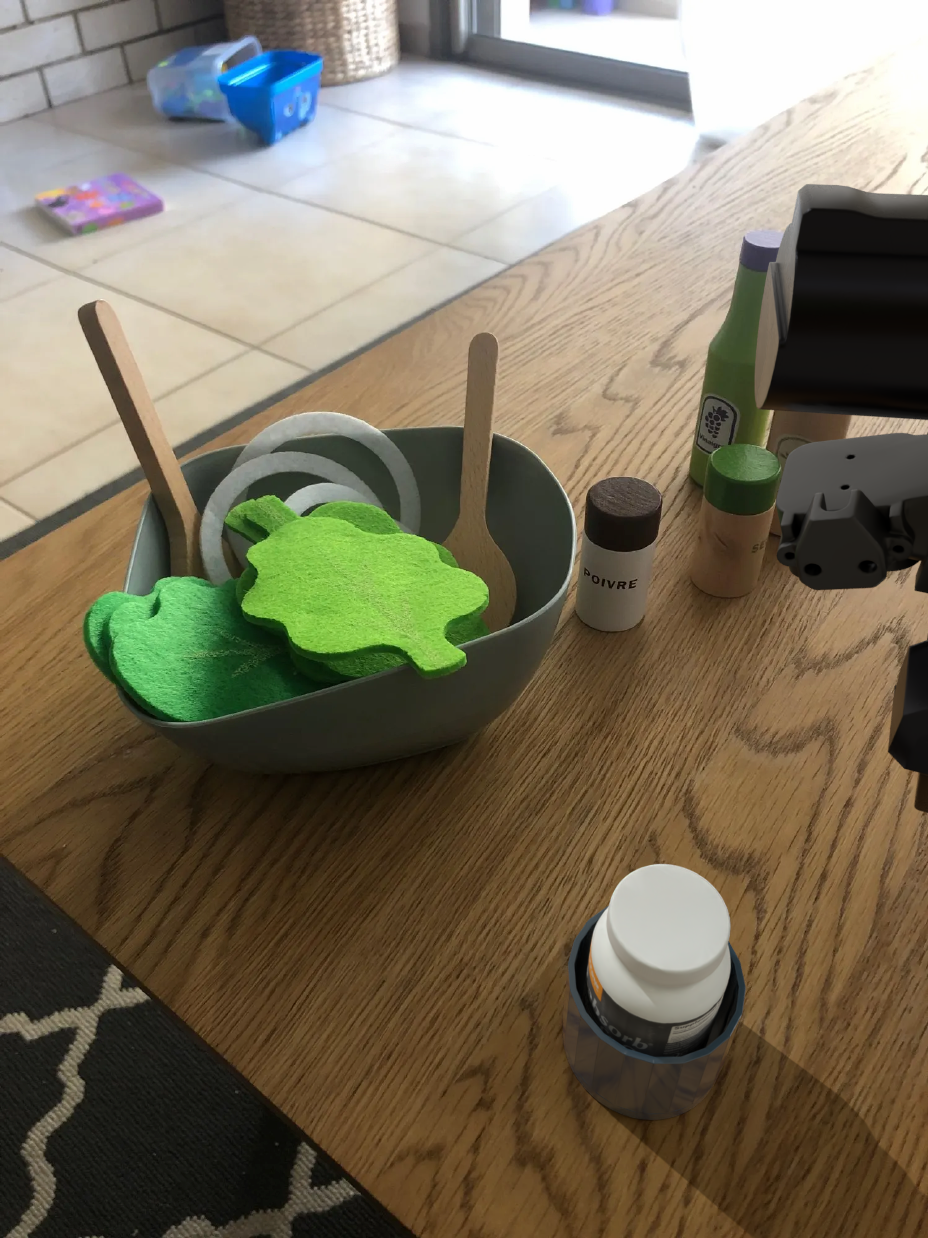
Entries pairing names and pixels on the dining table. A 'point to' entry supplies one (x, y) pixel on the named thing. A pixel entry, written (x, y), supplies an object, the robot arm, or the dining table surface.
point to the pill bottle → (659, 962)
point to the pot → (635, 1076)
